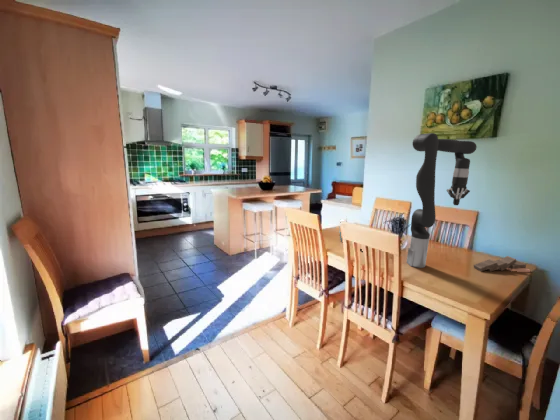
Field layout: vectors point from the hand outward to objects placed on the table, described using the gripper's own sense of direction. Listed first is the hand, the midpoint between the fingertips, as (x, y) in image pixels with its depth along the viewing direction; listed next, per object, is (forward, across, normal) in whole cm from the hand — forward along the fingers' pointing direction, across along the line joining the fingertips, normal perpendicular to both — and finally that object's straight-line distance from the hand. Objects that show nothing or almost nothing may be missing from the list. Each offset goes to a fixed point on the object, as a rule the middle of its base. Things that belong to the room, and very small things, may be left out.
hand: (455, 205), depth 161 cm
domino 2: (+34, +14, -14) cm, 39 cm away
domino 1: (+34, +8, -15) cm, 38 cm away
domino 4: (+32, +27, -13) cm, 44 cm away
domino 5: (+34, +28, -13) cm, 46 cm away
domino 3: (+34, +21, -13) cm, 42 cm away
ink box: (+35, -56, +48) cm, 82 cm away
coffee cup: (+35, -58, +32) cm, 75 cm away
